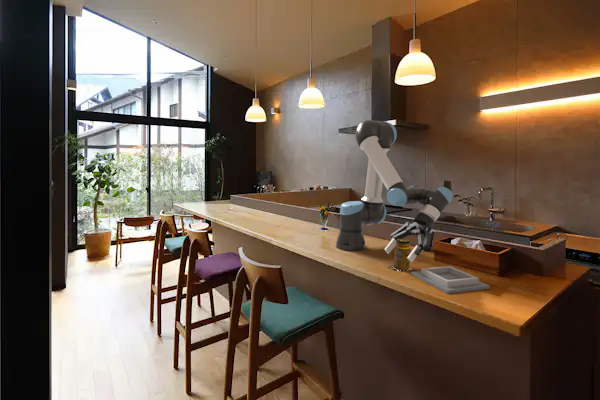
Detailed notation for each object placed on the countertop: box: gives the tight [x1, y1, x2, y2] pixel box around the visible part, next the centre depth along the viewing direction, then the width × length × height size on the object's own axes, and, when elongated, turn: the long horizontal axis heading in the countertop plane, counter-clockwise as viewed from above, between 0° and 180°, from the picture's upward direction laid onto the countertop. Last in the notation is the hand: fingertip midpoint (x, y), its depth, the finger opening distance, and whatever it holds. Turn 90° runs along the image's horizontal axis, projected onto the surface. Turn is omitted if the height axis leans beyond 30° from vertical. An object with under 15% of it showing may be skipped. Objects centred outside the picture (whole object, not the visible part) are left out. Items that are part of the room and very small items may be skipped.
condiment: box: [386, 238, 414, 272], centre depth 137 cm, size 7×8×12 cm
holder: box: [410, 265, 491, 294], centre depth 123 cm, size 20×18×3 cm
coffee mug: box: [417, 230, 436, 252], centre depth 170 cm, size 12×9×10 cm
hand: (397, 255), depth 136 cm, fingers open, 13 cm apart
